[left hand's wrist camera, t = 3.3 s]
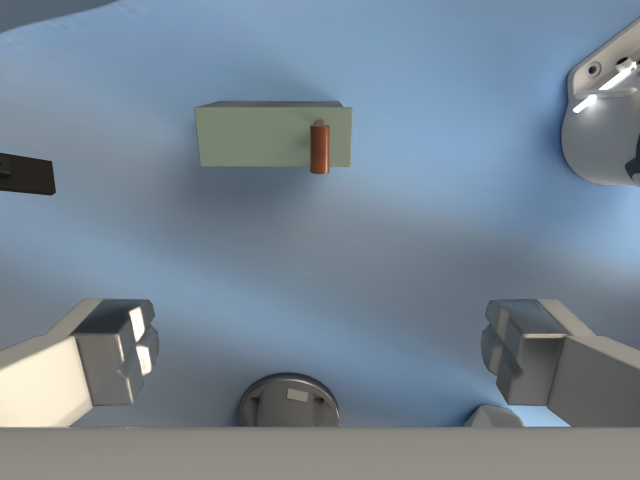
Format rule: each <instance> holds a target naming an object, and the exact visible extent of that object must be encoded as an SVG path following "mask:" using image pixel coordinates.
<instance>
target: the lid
mask: <svg viewBox="0 0 640 480" xmlns="http://www.w3.org/2000/svg"><path fill="white" fill-rule="evenodd" d="M194 110H195V119H196V129H197V138H198V148H199V158H200V166H228V167H310V172H311V173H315V174H325V173H328V172H329V167H351V143H352V110H353V109H352V107H195V108H194Z"/></svg>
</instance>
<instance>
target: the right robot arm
mask: <svg viewBox="0 0 640 480" xmlns="http://www.w3.org/2000/svg"><path fill="white" fill-rule="evenodd" d="M0 191H11V192H21V193H31V194H41V195H53V194H54V193H56V190H55V182H54V174H53V166H52V161H47V160H41V159H35V158H29V157H23V156H16V155H10V154H4V153H0ZM338 422H339V418H338V406H337V402H336V400H335V398H334V396H333V394H332V393H331V392H330V390H329V389H328V388H327V387H326V386H325V385H323V384H322V383H321V382H319V381H317V380H315V379H313V378H311V377H308V376H305V375H302V374H296V373H279V374H274V375H270V376H267V377H264V378H262V379H260V380H258V381H257V382H255V383H254V384H253V385H251V386H250V387H249V388H248V390H247V391H246V392H245V394H244V395H243V397H242V400H241V403H240V407H239V411H238V427H338Z"/></svg>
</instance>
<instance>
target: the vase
mask: <svg viewBox="0 0 640 480" xmlns="http://www.w3.org/2000/svg"><path fill="white" fill-rule="evenodd" d="M463 427H528V426H527V425H526V424H525V423H524V422H523V421H522V420H521V419H520V418H519V417H518V416H517V415H516V414H515V413H514V412H513V411H512V410H511V409H507V408H502V407H496V406H489V405H482V406H480V407H479V408H478V409H477V410H476V411H475V412H474V413H473V414H472V415H471V416H470V417H469V419H468V420H467V421H466V422H465V423H464V425H463Z"/></svg>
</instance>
